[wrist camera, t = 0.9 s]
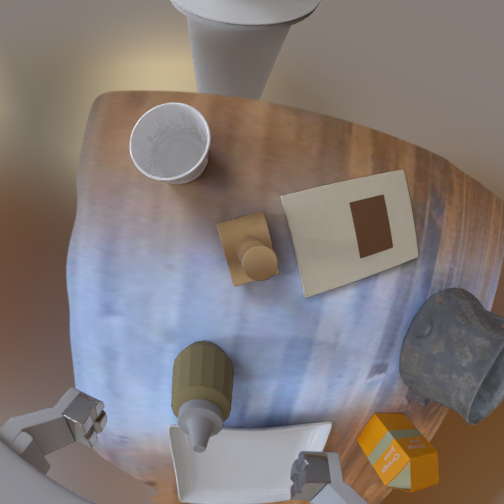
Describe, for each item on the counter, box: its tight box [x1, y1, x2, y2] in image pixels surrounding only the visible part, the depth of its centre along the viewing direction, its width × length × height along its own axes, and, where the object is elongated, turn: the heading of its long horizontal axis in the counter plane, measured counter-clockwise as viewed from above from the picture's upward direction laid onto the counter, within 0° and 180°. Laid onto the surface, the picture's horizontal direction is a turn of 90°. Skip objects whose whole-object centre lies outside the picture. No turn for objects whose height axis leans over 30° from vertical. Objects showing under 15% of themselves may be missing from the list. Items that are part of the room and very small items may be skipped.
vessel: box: [400, 288, 504, 425], centre depth 33 cm, size 22×22×20 cm
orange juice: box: [356, 413, 439, 493], centre depth 35 cm, size 8×9×20 cm
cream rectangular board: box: [280, 169, 418, 298], centre depth 37 cm, size 14×20×1 cm
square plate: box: [168, 421, 333, 504], centre depth 40 cm, size 27×27×4 cm
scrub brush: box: [217, 211, 279, 286], centre depth 30 cm, size 8×6×13 cm
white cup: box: [130, 103, 210, 184], centre depth 29 cm, size 8×8×10 cm
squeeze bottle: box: [171, 341, 234, 453], centre depth 29 cm, size 8×8×18 cm
